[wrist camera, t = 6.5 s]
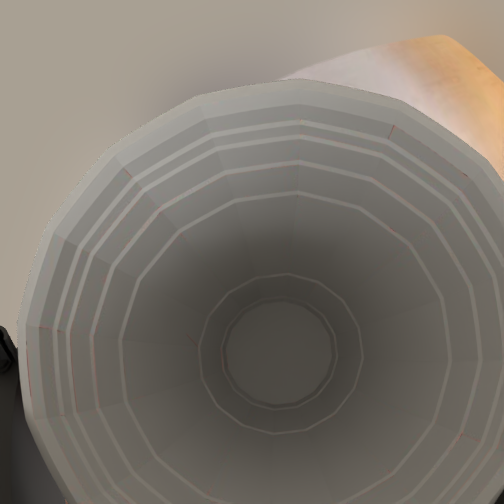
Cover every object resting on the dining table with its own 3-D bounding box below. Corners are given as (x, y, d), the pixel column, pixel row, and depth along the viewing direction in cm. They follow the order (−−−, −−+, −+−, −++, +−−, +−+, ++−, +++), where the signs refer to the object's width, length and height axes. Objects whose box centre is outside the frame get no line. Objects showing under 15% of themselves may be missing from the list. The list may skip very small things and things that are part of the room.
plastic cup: (151, 286, 16) (-12, 180, 5) (335, 228, 17) (415, 50, 5) (207, 471, 13) (111, 619, 2) (398, 409, 14) (569, 465, 2)
